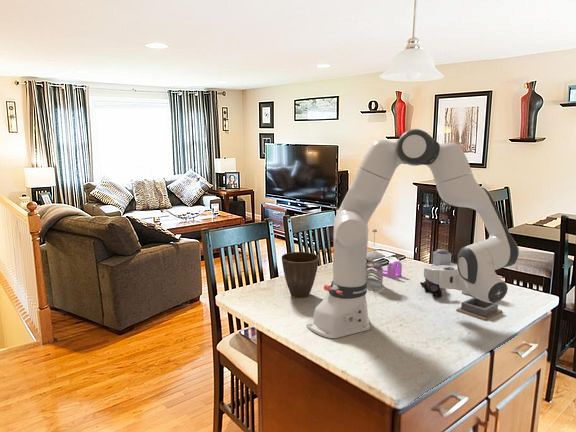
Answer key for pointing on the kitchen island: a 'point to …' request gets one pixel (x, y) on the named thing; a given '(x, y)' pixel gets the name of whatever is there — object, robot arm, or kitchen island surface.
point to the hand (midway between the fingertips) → (440, 265)
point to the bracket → (393, 270)
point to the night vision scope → (432, 287)
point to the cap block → (441, 257)
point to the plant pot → (300, 272)
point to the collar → (479, 308)
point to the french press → (372, 282)
